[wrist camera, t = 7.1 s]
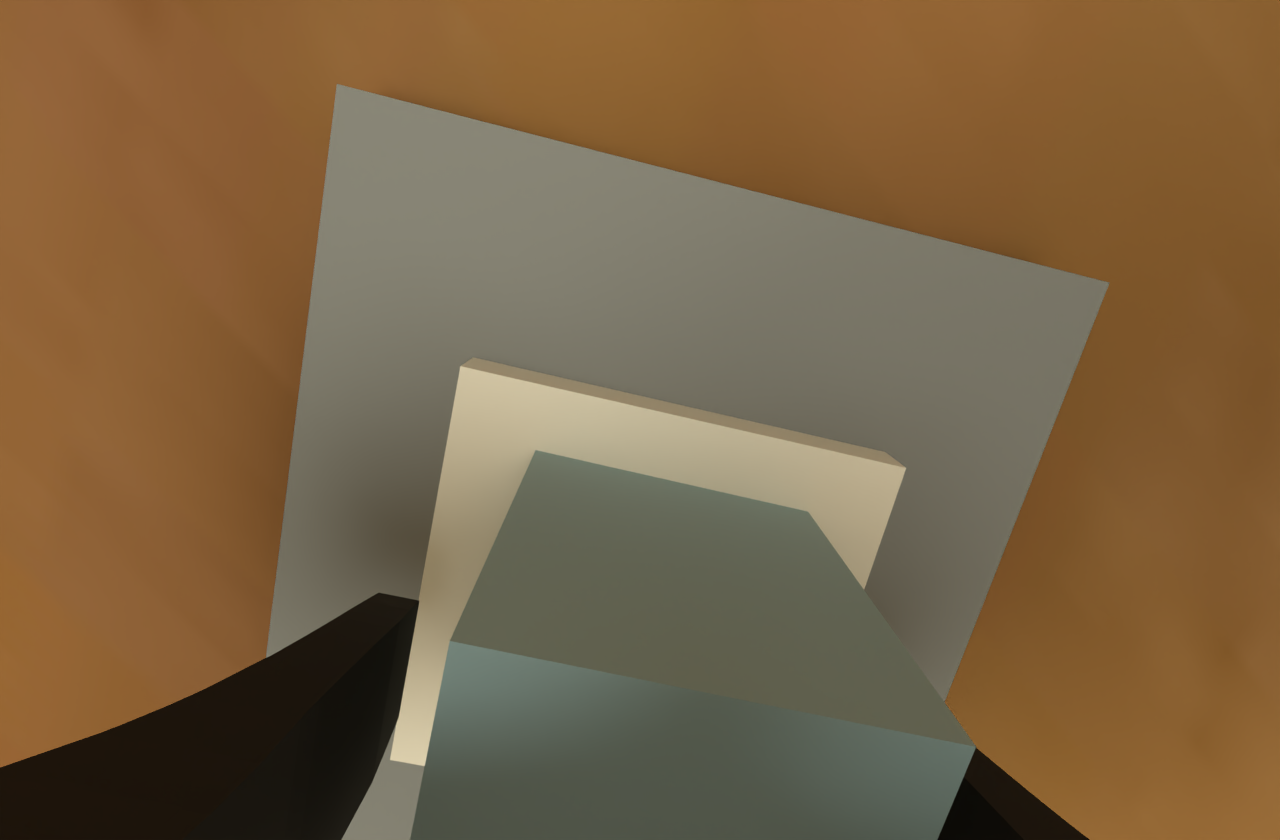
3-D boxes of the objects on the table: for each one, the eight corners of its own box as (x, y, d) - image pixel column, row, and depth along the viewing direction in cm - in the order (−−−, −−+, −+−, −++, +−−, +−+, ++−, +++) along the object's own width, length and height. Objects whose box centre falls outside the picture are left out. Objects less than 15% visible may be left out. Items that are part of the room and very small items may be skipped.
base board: (1043, 278, 14) (1151, 284, 11) (821, 878, 18) (859, 999, 15) (379, 108, 13) (310, 67, 10) (286, 783, 17) (215, 894, 14)
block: (807, 511, 12) (976, 746, 6) (733, 743, 13) (818, 1122, 8) (535, 450, 12) (450, 640, 6) (482, 693, 13) (367, 1054, 7)
